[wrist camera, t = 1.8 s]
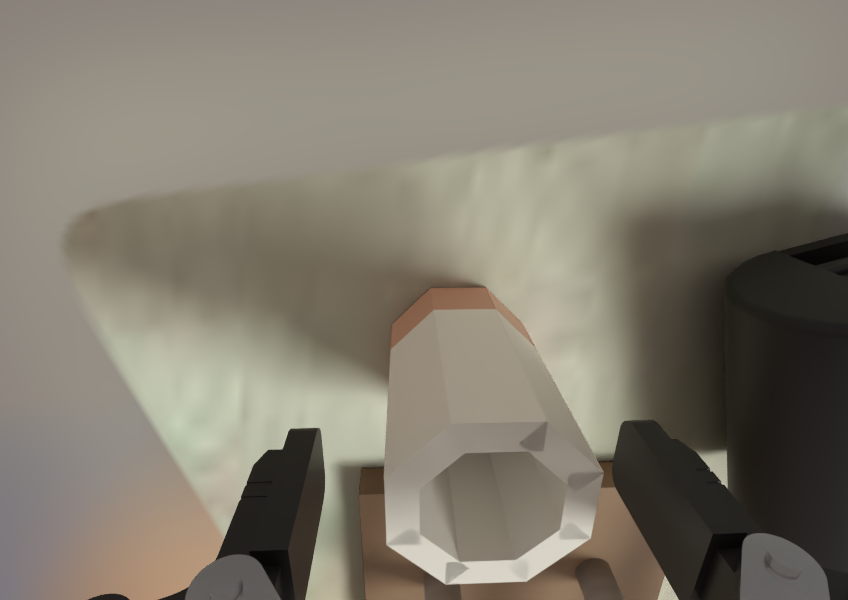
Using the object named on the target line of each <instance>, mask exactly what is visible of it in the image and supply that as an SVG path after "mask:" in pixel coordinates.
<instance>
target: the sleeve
mask: <svg viewBox="0 0 848 600" xmlns="http://www.w3.org/2000/svg"><path fill="white" fill-rule="evenodd" d="M603 474H604V472H603V470H602V468H601V466H600V464H599V463H598V461H597V459H596V457H595V455H594V454H593V452H592V450H591V448H590V446H589V444H588V443H587V441H586V439H585V437H584V435H583V433H582V432H581V430H580V428H579V426H578V424H577V423H576V421H575V419H574V417H573V415H572V413H571V412H570V410H569V408H568V406H567V404H566V402H565V401H564V399H563V397H562V395H561V393H560V392H559V390H558V388H557V386H556V384H555V382H554V381H553V379H552V377H551V375H550V373H549V371H548V370H547V368H546V366H545V364H544V362H543V361H542V359H541V357H540V355H539V353H538V351H537V350H536V348H535V346H534V344H533V342H532V340H531V339H530V337H529V335H528V333H527V331H526V330H525V328H524V326H523V324H522V322H521V321H520V320H519V319H517V318H516V317H515V316H514V315H513V314H512V313H511V312H510V311H509V310H508V309H507V308H506V307H505V306H504V305H503V304H502V303H501V302H500V301H499V300H498V299H497V298H496V297H495V296H494V295H493V294H492V293H491V292H490V291H489V290H488V289H487V288H486V287H478V288H430V289H429V290H428V291H427V292H426V293H425V294H424V295H423V296H422V297H421V298H419V299H418V300H417V301H416V302H415V303H414V304H413V305H412V306H411V307H410V308H409V309H408V310H407V311H406V312H404V313H403V314H402V315H401V316H400V317H399V318H398V319H397V320H396V321H395V322H394V323H393V324H392V332H391V350H390V369H389V388H388V406H387V425H386V444H385V463H384V490H385V517H386V545H387V546H389V547H390V548H392V549H393V550H395V551H396V552H398V553H399V554H401V555H402V556H404V557H405V558H407V559H408V560H410V561H411V562H413V563H414V564H416V565H417V566H419V567H420V568H422V569H423V570H425V571H426V572H428V573H429V574H431V575H432V576H434V577H435V578H437V579H438V580H440V581H441V582H443V583H444V584H445V585H447V584H474V583H502V582H527V581H528V580H529V579H531V578H532V577H534V576H535V575H537V574H538V573H540V572H541V571H543V570H544V569H546V568H547V567H549V566H550V565H552V564H553V563H555V562H556V561H558V560H559V559H561V558H562V557H564V556H565V555H567V554H568V553H570V552H571V551H573V550H574V549H576V548H577V547H579V546H580V545H582V544H583V543H585V542H586V541H588V540H589V539H591V534H592V529H593V524H594V519H595V514H596V509H597V504H598V499H599V494H600V489H601V484H602V479H603Z"/></svg>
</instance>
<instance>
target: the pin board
mask: <svg viewBox="0 0 848 600" xmlns="http://www.w3.org/2000/svg"><path fill="white" fill-rule="evenodd" d="M598 463H599V464H600V466H601V468H602V470H603V472H604V474H603V479H602V484H601V489H600V494H599V499H598V504H597V509H596V514H595V519H594V524H593V529H592V534H591V539H589V540H588V541H586V542H585V543H583V544H582V545H580V546H579V547H577V548H576V549H574V550H573V551H571V552H570V553H568V554H567V555H565V556H564V557H562V558H561V559H559V560H558V561H556V562H555V563H553V564H552V565H550V566H549V567H547V568H546V569H544V570H543V571H541V572H540V573H538V574H537V575H535V576H534V577H532V578H531V579H529V580H528V581H527V582H502V583H474V584H447V585H445V584H444V583H443V582H441V581H440V580H438V579H437V578H435V577H434V576H432V575H431V574H429V573H428V572H426V571H425V570H423V569H422V568H420V567H419V566H417V565H416V564H414V563H413V562H411V561H410V560H408V559H407V558H405V557H404V556H402V555H401V554H399V553H398V552H396V551H395V550H393V549H392V548H390V547H389V546H387V545H386V517H385V490H384V468H362V470H361V479H360V488H359V507H360V522H361V537H362V552H363V567H364V582H365V597H366V600H657V599H658V596H659V592H660V589H661V586H662V582H663V579H664V575H665V574H664V572H663V571H662V569H661V567H660V565H659V564H658V562H657V560H656V558H655V557H654V555H653V553H652V551H651V550H650V548H649V546H648V544H647V543H646V541H645V539H644V537H643V536H642V534H641V532H640V530H639V529H638V527H637V525H636V523H635V522H634V520H633V518H632V516H631V515H630V513H629V511H628V509H627V508H626V506H625V504H624V502H623V501H622V499H621V497H620V495H619V494H618V492H617V490H616V488H615V485H614V482H613V477H612V464H613V462H598Z"/></svg>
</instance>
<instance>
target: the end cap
mask: <svg viewBox="0 0 848 600" xmlns="http://www.w3.org/2000/svg"><path fill="white" fill-rule="evenodd" d="M724 335H725V381H726V428H727V475H728V490H729V491H730V492H731V494H732V495H733V496H734V497H735V498H736V499H737V501H738V502H739V503H740V504H741V505H742V506H743V508H744V509H745V510H746V511H747V512H748V513H749V514H750V516H751V517H752V518H753V519H754V520H755V521H756V523H757V524H758V525H759V526H760V527H761V528H762V530H763V531H764V532H765V533H766V534H771V535H775V536H778V537H781V538H783V539H785V540H788V541H790V542H792V543H793V544H795V545H797V546H798V547H800V548H801V549H803V550H804V551H805V552H807V553H808V554H809V555H810V556H811V557H813V558H814V559H815V560H816V562H817V563H818V564H819V565H820V566H821V567H823V568H827V569H832V570H836V571H840V572H845V573H848V233H846V234H843V235H839V236H835V237H831V238H828V239H824V240H820V241H816V242H812V243H809V244H805V245H801V246H797V247H793V248H790V249H786V250H782V251H772V252H769V253H766V254H763V255H759V256H757V257H755V258H752V259H750V260H748V261H746V262H744V263H743V264H741V265H740V266H738V267H737V268H735V269H734V270H733V271H732V272H731V273H730V275H729V276H728V277H727V279H726V282H725V285H724Z"/></svg>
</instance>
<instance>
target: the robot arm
mask: <svg viewBox="0 0 848 600" xmlns="http://www.w3.org/2000/svg"><path fill="white" fill-rule="evenodd" d="M612 477H613V482H614V485H615V488H616V490H617V492H618V494H619V495H620V497H621V499H622V501H623V502H624V504H625V506H626V508H627V509H628V511H629V513H630V515H631V516H632V518H633V520H634V522H635V523H636V525H637V527H638V529H639V530H640V532H641V534H642V536H643V537H644V539H645V541H646V543H647V544H648V546H649V548H650V550H651V551H652V553H653V555H654V557H655V558H656V560H657V562H658V564H659V565H660V567H661V569H662V571H663V572H664V574H665V576H666V578H667V579H668V581H669V583H670V585H671V586H672V588H673V590H674V592H675V593H676V595H677V597H678V599H679V600H848V573H845V572H840V571H836V570H832V569H827V568H823V567H821V566H820V565H819V564H818V563H817V562H816V560H815V559H814V558H813V557H811V556H810V555H809V554H808V553H807V552H805V551H804V550H803V549H801V548H800V547H798V546H797V545H795V544H793V543H792V542H790V541H788V540H785V539H783V538H781V537H778V536H775V535H771V534H766V533H765V532H764V531H763V530H762V528H761V527H760V526H759V525H758V524H757V523H756V521H755V520H754V519H753V518H752V517H751V516H750V514H749V513H748V512H747V511H746V510H745V509H744V508H743V506H742V505H741V504H740V503H739V502H738V501H737V499H736V498H735V497H734V496H733V495H732V494H731V492H730V491H729V490H728V489H727V488H726V487H725V485H722V484H721V481H720V480H719V479H718V477H717V476H716V475H715V474H714V473H713V472H710V468H709V467H708V466H707V465H706V463H705V462H704V461H703V460H702V459H701V458H700V456H699V455H698V454H697V453H696V452H695V451H693V450H692V449H690V448H689V447H687V446H686V445H684V444H683V443H682V442H680V441H679V440H677V439H671V438H670V437H669V436H668V435H667V434H666V432H665V431H664V430H663V429H662V428H661V426H660V425H659V424H658V423H657V422H656V421H654V420H636V421H624V422H623V423H622V425H621V427H620V432H619V436H618V441H617V445H616V450H615V455H614V459H613V464H612ZM324 492H325V470H324V460H323V449H322V439H321V431H320V428H301V429H290V430H289V432H288V435H287V438H286V441H285V444H284V447H283V450H268V451H267V452H266V453H265V454H264V455H263V456H262V457H261V458H260V459H259V460H258V461H257V462H256V463H255V464H254V466H253V468H252V471H251V473H250V476H249V478H248V481H247V486H245V488H244V491H243V493H242V496H241V500H240V501H239V503H238V506H237V509H236V511H235V514H234V516H233V519H232V521H231V524H230V526H229V529H228V531H227V534H226V536H225V539H224V541H223V544H222V546H221V549H220V551H219V554H218V556H217V558H216V560H215V561H214V562H212V563H211V564H209V565H208V566H206V567H205V568H204V569H203V570H201V571H200V572H199V574H198V575H197V576H196V577H195V578H194V579H193V581H192V582H191V584H190V586H189V587H188V588H186V589H184V590H182V591H180V592H178V593H176V594H173V595H171V596H168V597H165V598H162V599H159V600H305V597H306V592H307V586H308V581H309V576H310V570H311V565H312V559H313V554H314V549H315V543H316V538H317V532H318V527H319V522H320V516H321V511H322V505H323V500H324ZM89 600H129V599H128V598H127V597H125V596H123V595H120V594H105V595H100V596H97V597H93V598H91V599H89Z"/></svg>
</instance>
